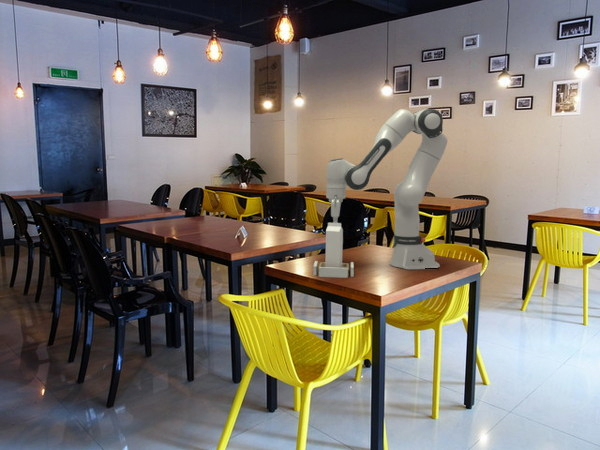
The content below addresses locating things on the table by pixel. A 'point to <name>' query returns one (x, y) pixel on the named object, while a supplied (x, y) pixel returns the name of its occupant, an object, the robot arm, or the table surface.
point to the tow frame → (344, 265)
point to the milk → (334, 245)
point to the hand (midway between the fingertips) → (335, 224)
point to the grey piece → (332, 271)
